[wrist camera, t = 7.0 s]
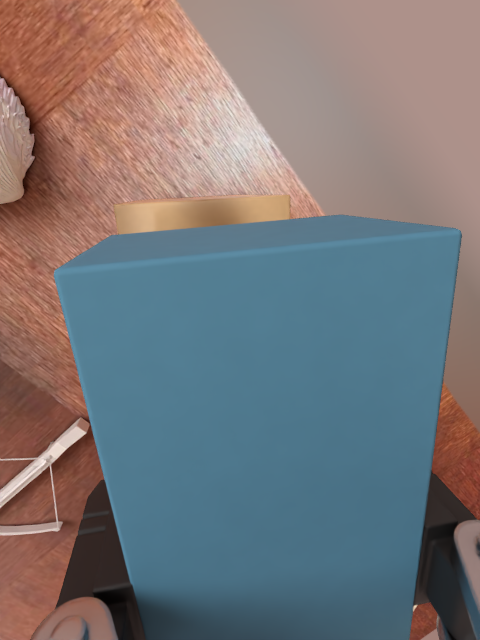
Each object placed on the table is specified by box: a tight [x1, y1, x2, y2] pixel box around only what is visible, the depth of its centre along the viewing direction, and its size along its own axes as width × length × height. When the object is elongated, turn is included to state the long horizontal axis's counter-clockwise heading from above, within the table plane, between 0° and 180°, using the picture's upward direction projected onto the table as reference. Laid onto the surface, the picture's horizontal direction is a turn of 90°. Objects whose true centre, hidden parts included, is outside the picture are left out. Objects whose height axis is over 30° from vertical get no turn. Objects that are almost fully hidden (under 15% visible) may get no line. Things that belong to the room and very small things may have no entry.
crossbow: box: [0, 417, 90, 535], centre depth 34 cm, size 16×13×2 cm
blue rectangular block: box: [54, 215, 462, 640], centre depth 9 cm, size 6×12×4 cm, turn 4°
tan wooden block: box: [114, 195, 290, 235], centre depth 25 cm, size 8×14×14 cm, turn 3°
